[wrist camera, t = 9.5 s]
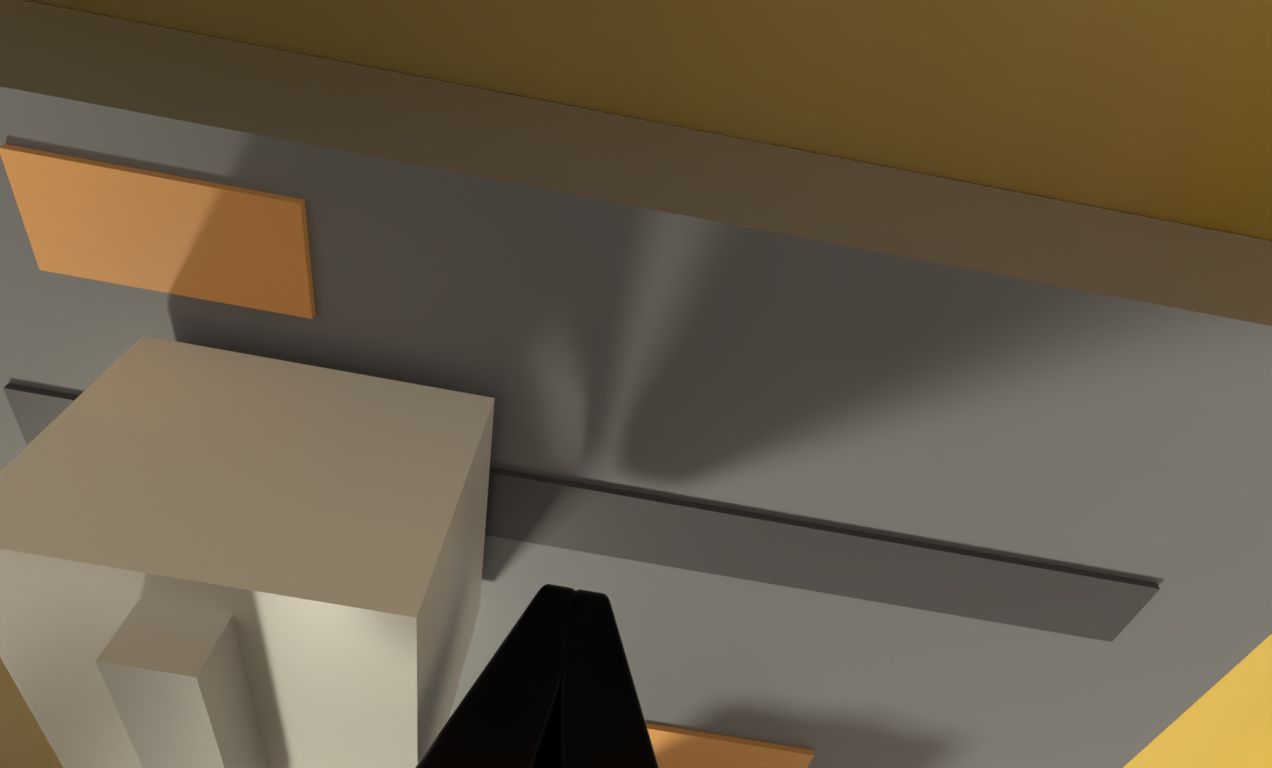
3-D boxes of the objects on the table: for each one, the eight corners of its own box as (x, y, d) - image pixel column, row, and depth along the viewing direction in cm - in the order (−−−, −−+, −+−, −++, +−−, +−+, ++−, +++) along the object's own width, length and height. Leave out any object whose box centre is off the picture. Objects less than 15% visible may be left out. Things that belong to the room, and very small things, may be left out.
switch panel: (172, 738, 20) (111, 845, 18) (-118, -28, 9) (-350, 25, 7) (888, 850, 21) (907, 967, 19) (1389, 263, 10) (1561, 384, 8)
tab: (202, 563, 11) (28, 827, 8) (142, 335, 9) (-131, 597, 6) (479, 610, 11) (401, 884, 9) (494, 397, 9) (392, 682, 6)
